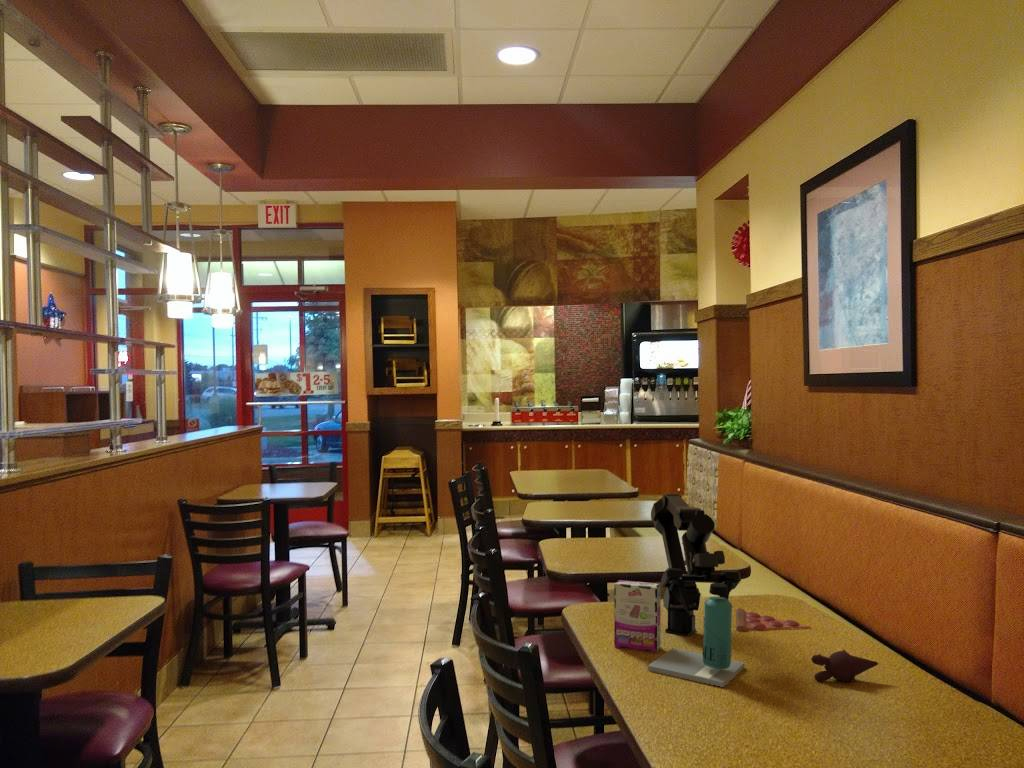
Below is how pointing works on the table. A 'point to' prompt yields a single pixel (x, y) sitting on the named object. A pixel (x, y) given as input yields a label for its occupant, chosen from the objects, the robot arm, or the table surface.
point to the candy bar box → (637, 616)
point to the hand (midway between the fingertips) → (706, 611)
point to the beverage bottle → (717, 628)
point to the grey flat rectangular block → (693, 668)
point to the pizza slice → (762, 622)
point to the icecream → (841, 666)
